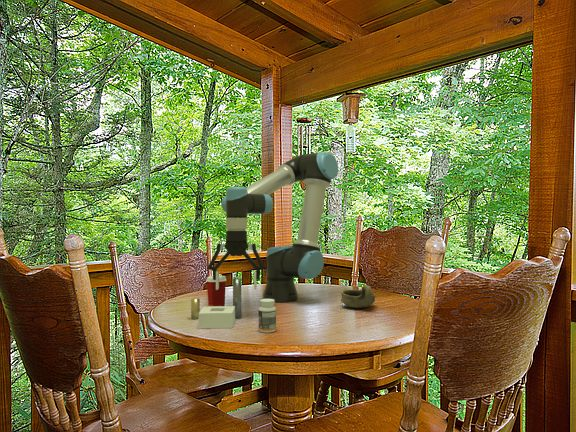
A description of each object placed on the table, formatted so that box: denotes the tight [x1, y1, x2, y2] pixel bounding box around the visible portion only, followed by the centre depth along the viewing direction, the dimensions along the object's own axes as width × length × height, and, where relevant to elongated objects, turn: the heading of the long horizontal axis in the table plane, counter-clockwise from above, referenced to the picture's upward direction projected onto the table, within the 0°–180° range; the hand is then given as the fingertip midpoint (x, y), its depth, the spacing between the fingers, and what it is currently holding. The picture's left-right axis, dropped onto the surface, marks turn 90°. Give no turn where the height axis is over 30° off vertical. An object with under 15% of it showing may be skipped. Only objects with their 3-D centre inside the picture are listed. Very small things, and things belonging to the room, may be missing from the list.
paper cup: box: [205, 275, 227, 306], centre depth 171 cm, size 8×8×14 cm
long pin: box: [232, 278, 243, 320], centre depth 165 cm, size 3×3×14 cm
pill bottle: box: [257, 298, 277, 334], centre depth 147 cm, size 6×6×10 cm
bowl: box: [340, 285, 376, 309], centre depth 179 cm, size 14×18×10 cm
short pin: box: [190, 297, 201, 320], centre depth 164 cm, size 3×3×7 cm
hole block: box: [198, 305, 236, 330], centre depth 156 cm, size 11×11×5 cm
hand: (236, 289), depth 164 cm, fingers open, 13 cm apart
